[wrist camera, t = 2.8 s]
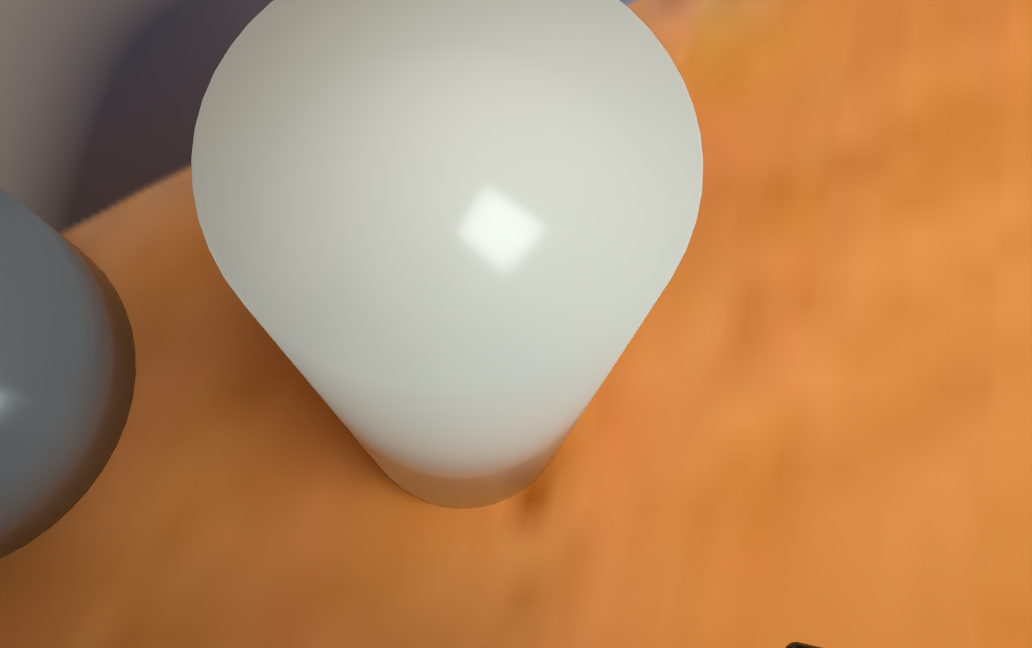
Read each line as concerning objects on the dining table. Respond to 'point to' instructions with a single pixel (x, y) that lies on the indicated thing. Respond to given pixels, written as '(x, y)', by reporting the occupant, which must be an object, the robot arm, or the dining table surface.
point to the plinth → (55, 374)
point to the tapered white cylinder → (449, 216)
